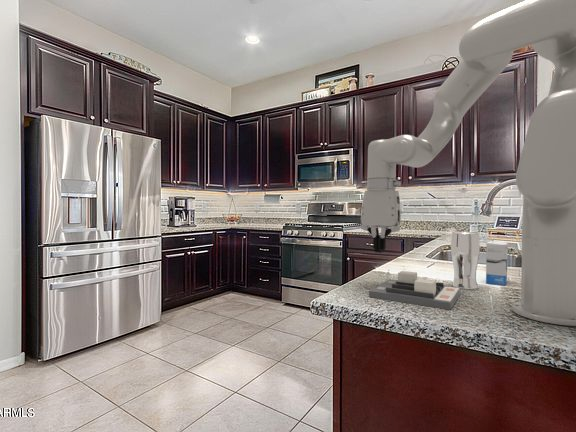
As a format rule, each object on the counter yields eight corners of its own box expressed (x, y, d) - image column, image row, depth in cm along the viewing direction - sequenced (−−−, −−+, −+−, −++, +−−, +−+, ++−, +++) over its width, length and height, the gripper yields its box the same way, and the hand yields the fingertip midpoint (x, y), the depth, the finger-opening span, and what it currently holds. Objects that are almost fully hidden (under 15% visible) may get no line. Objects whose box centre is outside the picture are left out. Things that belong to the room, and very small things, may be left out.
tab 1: (417, 283, 85) (417, 272, 85) (413, 286, 82) (413, 274, 82) (401, 281, 87) (401, 270, 87) (397, 284, 84) (397, 272, 84)
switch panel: (460, 293, 81) (460, 283, 81) (450, 309, 68) (450, 298, 68) (389, 284, 91) (389, 275, 91) (369, 297, 78) (369, 286, 78)
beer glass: (472, 284, 92) (472, 231, 91) (484, 290, 85) (484, 233, 84) (446, 283, 92) (447, 231, 92) (457, 289, 85) (457, 233, 85)
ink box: (506, 286, 89) (506, 244, 89) (485, 283, 92) (485, 242, 92) (507, 280, 96) (508, 241, 96) (488, 278, 99) (488, 240, 99)
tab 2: (435, 293, 75) (436, 280, 75) (432, 296, 72) (432, 283, 72) (418, 291, 77) (418, 278, 77) (414, 294, 74) (414, 281, 74)
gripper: (412, 186, 87) (410, 253, 88) (360, 187, 96) (359, 248, 96) (405, 184, 81) (402, 256, 82) (350, 185, 90) (348, 250, 90)
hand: (379, 251), depth 89 cm, fingers closed
